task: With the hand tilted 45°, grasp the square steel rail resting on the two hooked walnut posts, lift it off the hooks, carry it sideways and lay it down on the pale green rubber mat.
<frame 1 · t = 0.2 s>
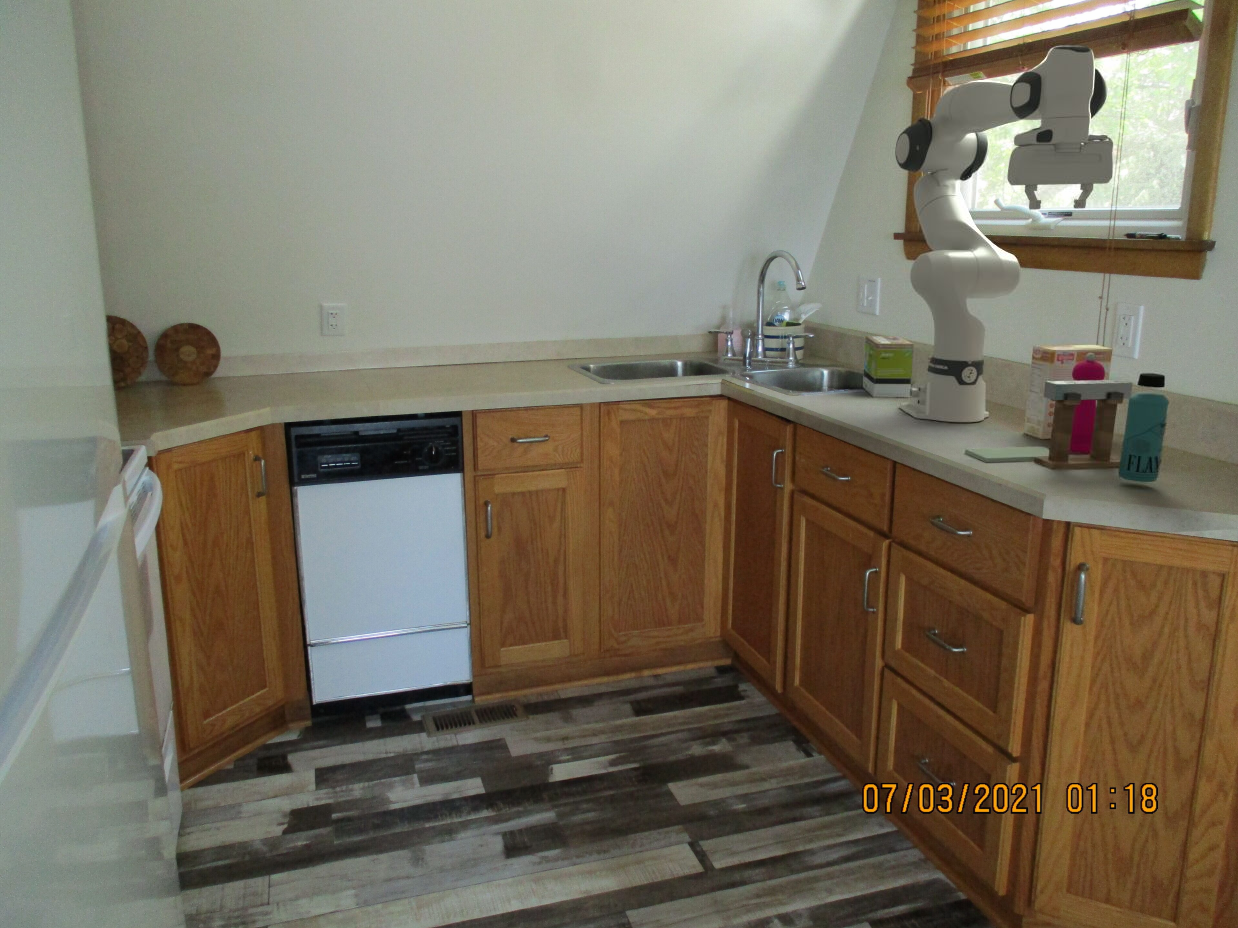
hand: (1057, 209, 192), 48 cm above the worktop, tool pointing down, fingers open, 8 cm apart
coffeecake box: (1061, 436, 215), on the worktop
stand: (1078, 464, 189), on the worktop
rail: (1086, 397, 186), point 13 cm above the worktop, touching stand
mat: (1014, 456, 195), on the worktop
tea box: (885, 393, 267), on the worktop
beverage bottle: (1136, 486, 173), on the worktop
pepper mill: (1078, 451, 201), on the worktop
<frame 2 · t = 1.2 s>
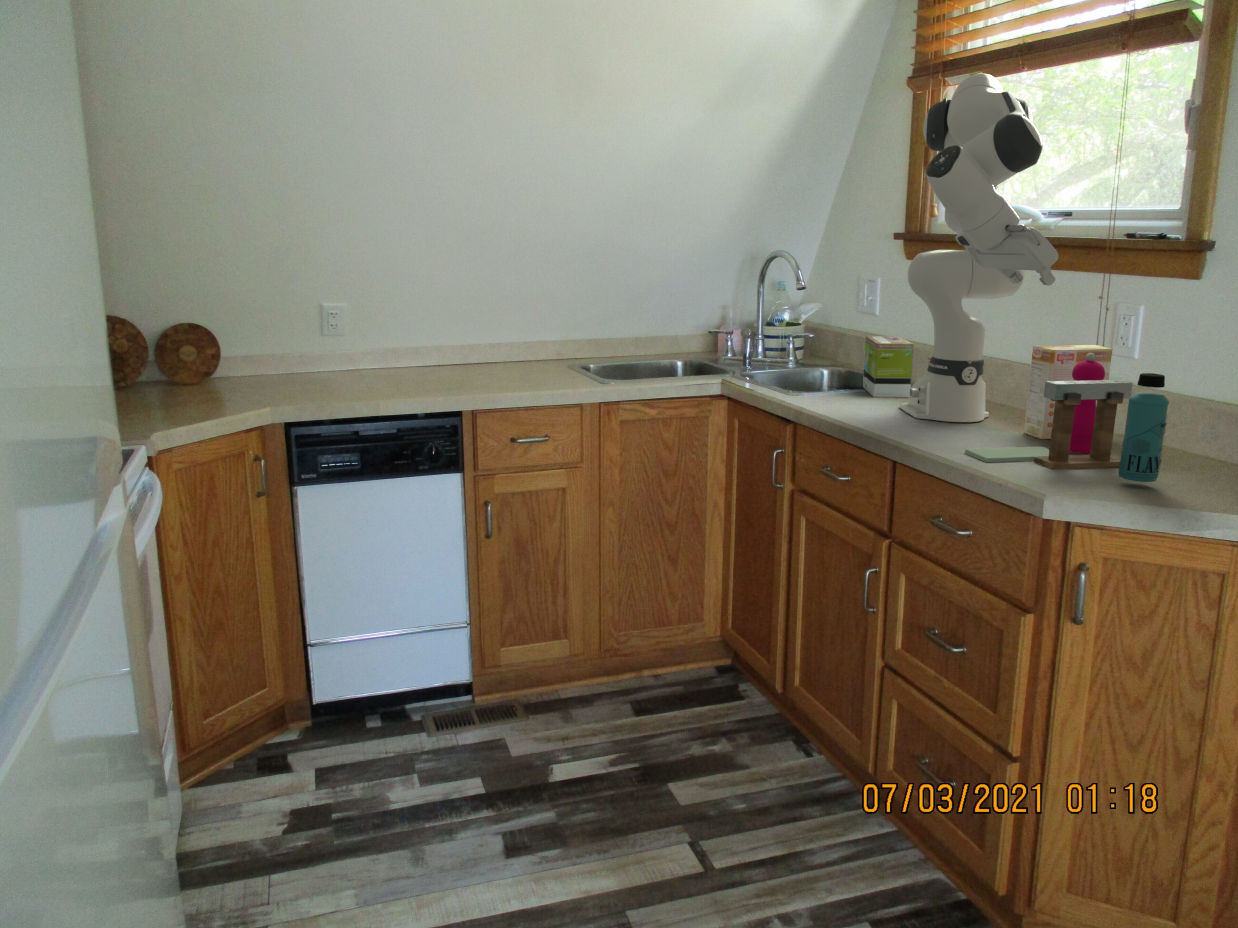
hand: (1034, 282, 181), 34 cm above the worktop, tool tilted 45°, fingers open, 8 cm apart
nothing on the worktop moved.
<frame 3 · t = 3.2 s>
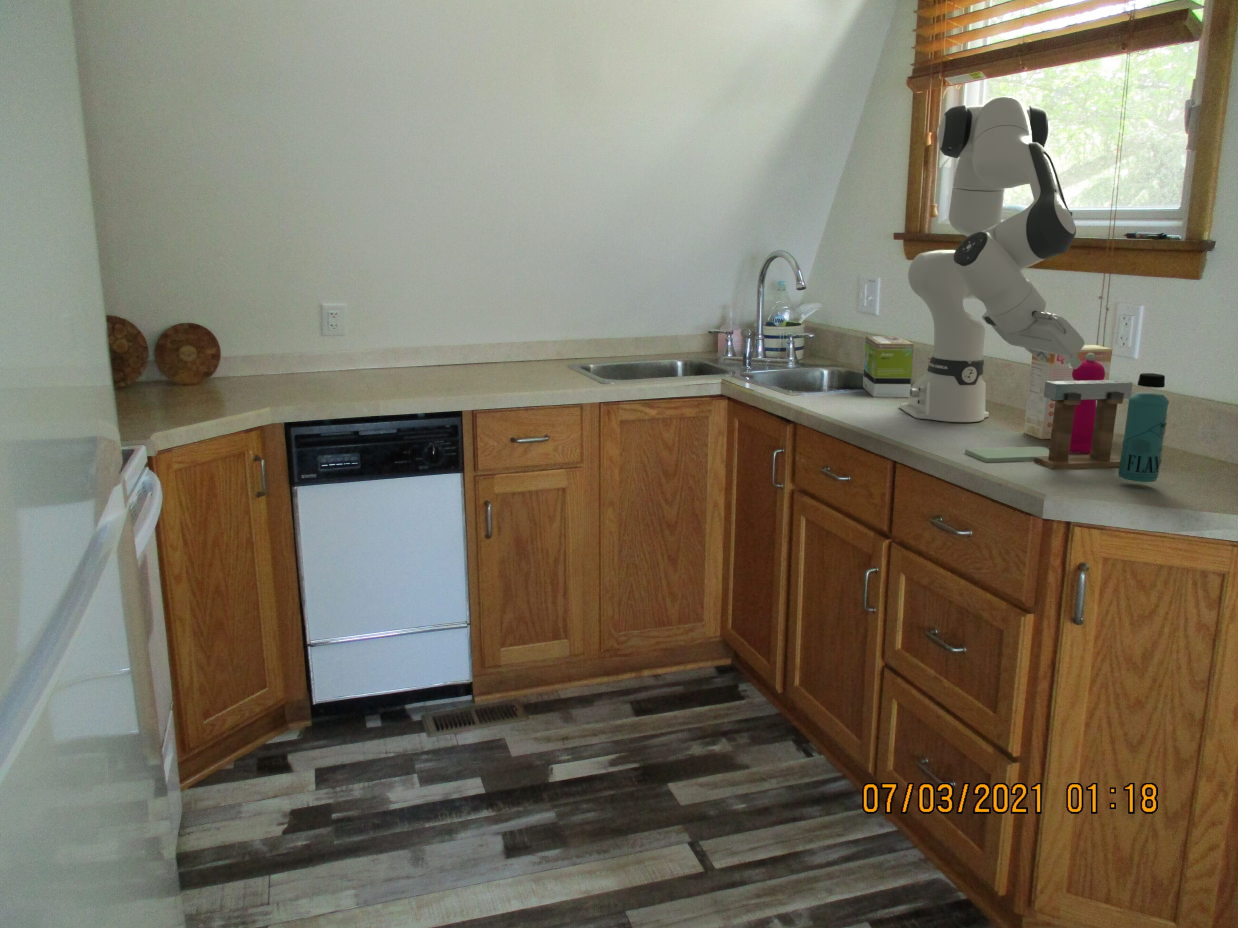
hand: (1060, 362, 183), 20 cm above the worktop, tool tilted 45°, fingers open, 8 cm apart
nothing on the worktop moved.
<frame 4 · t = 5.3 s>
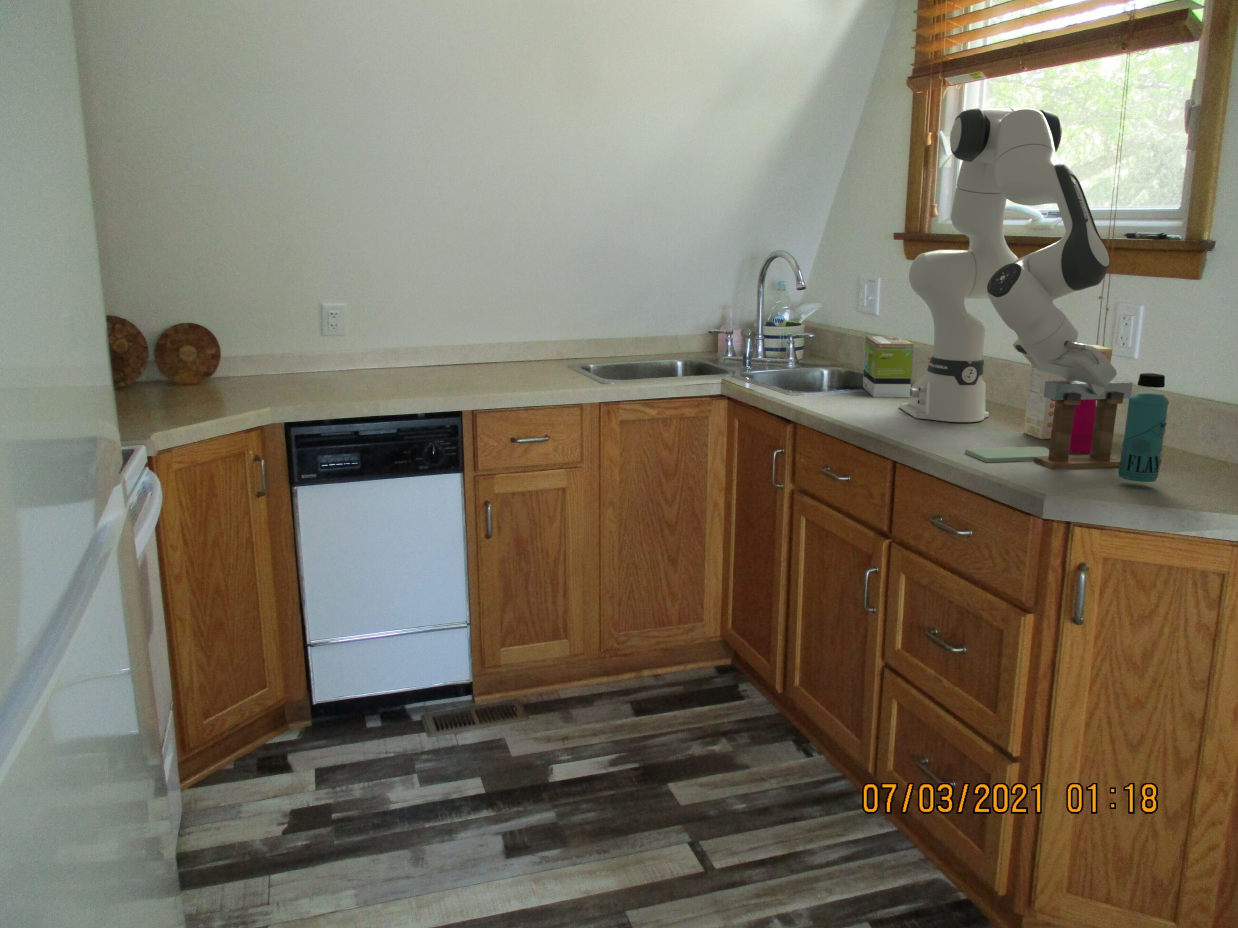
hand: (1090, 390, 185), 14 cm above the worktop, tool tilted 45°, fingers closed on rail, 3 cm apart
rail: (1086, 397, 186), point 13 cm above the worktop, touching gripper, stand
everything else where it was.
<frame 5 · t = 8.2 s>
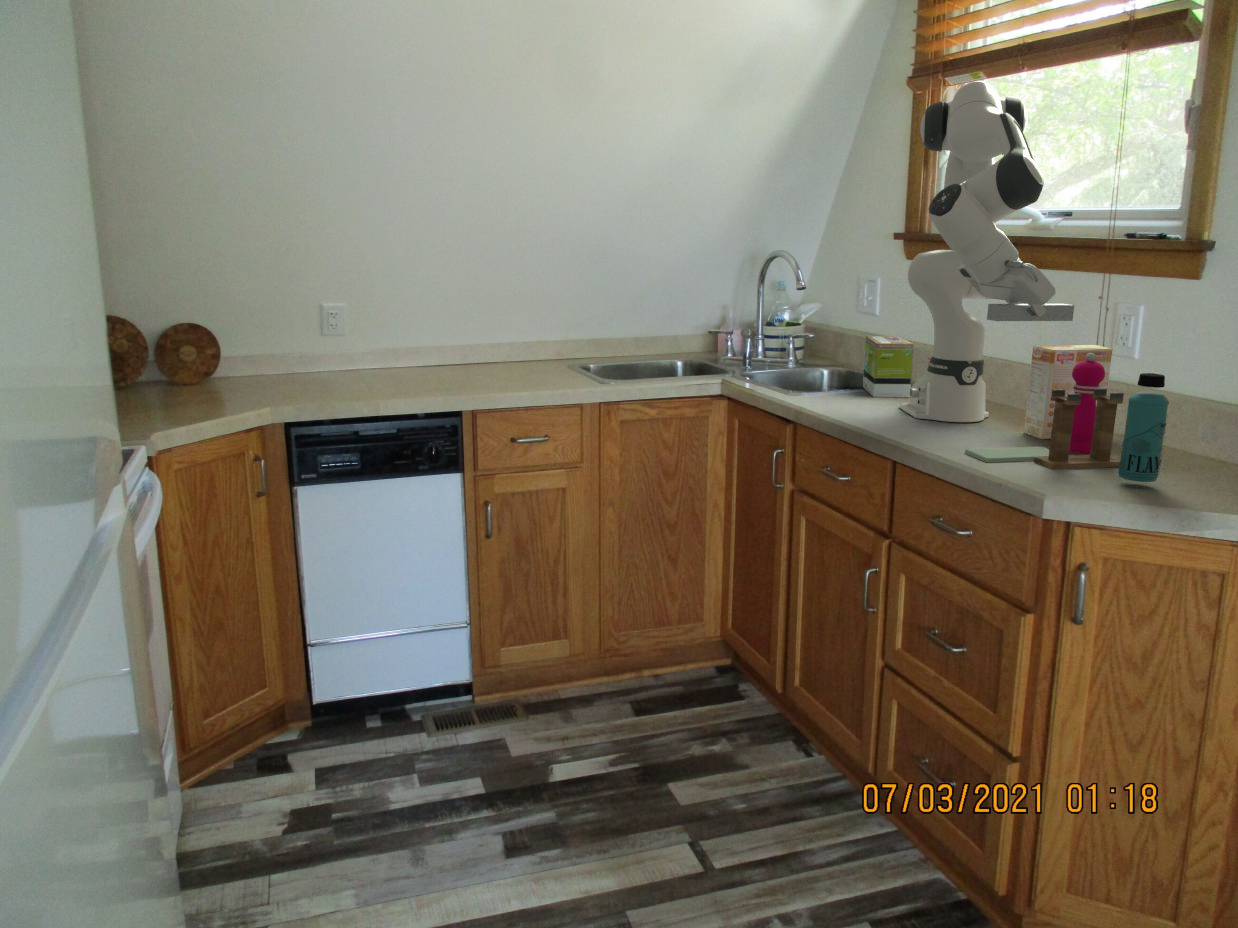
hand: (1033, 313, 188), 28 cm above the worktop, tool tilted 45°, fingers closed on rail, 3 cm apart
rail: (1029, 320, 188), point 27 cm above the worktop, touching gripper
everything else where it was.
when the fingers open (5 cm above the worktop, at t = 11.2 s): rail drops 3 cm, resting on mat.
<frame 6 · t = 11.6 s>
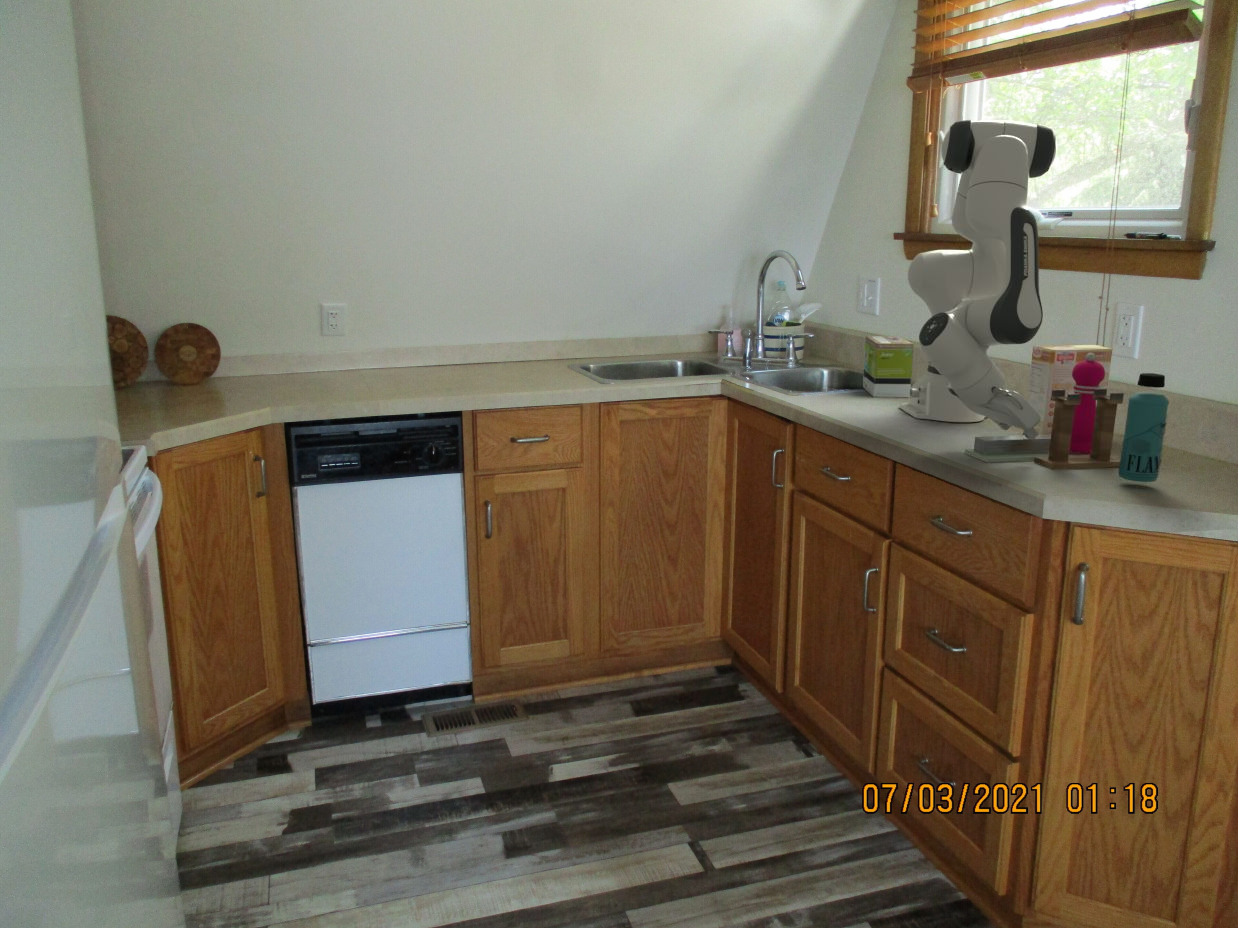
hand: (1020, 432, 194), 5 cm above the worktop, tool tilted 45°, fingers open, 7 cm apart
rail: (1015, 452, 194), point 1 cm above the worktop, touching mat
everything else where it was.
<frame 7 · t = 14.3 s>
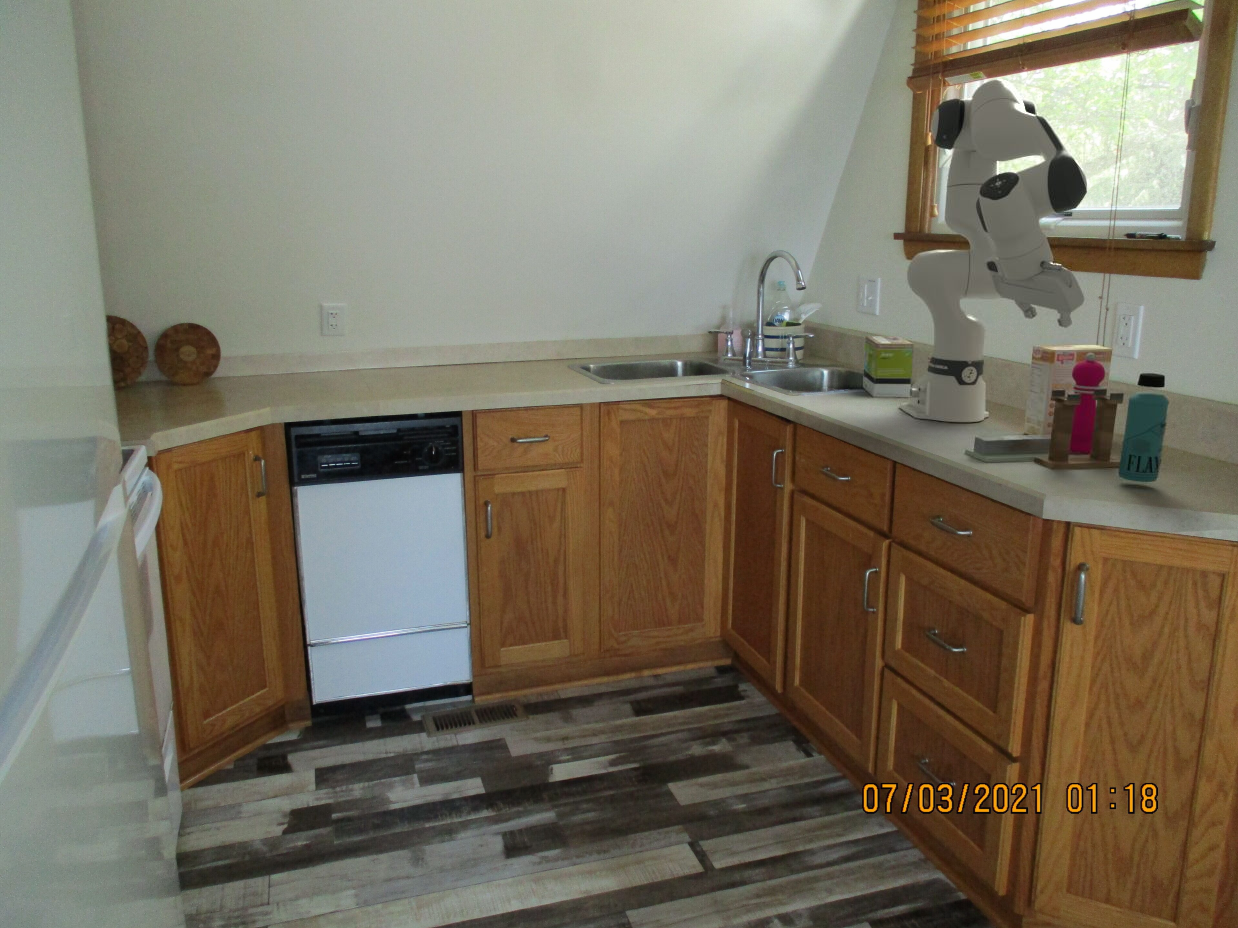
hand: (1048, 321, 187), 27 cm above the worktop, tool tilted 35°, fingers open, 8 cm apart
nothing on the worktop moved.
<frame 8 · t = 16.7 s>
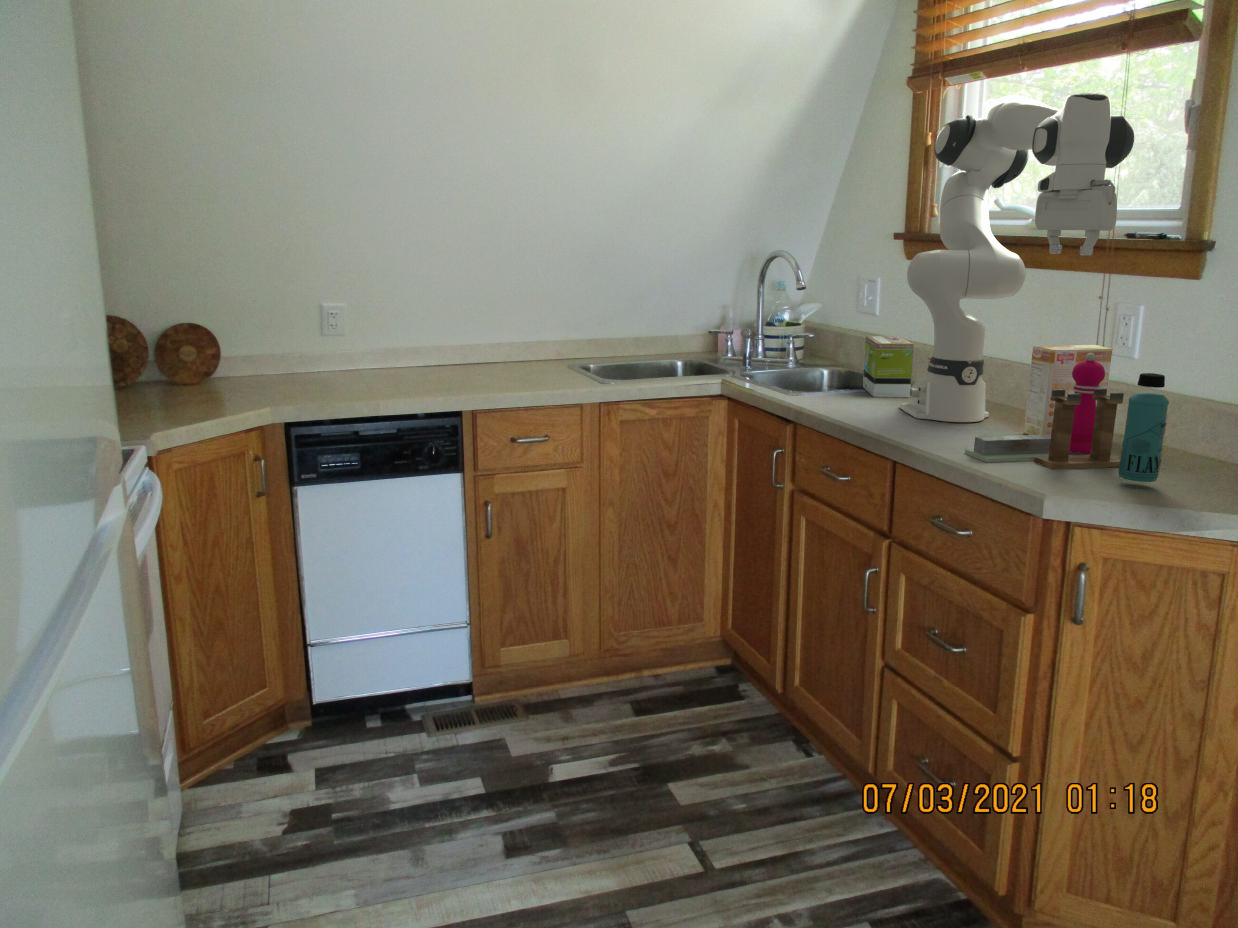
hand: (1070, 254, 192), 39 cm above the worktop, tool pointing down, fingers open, 8 cm apart
nothing on the worktop moved.
at the end: rail inside the target area (0.5 cm from its centre), point 0.8 cm above the worktop; rail touching mat; the gripper is holding nothing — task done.
